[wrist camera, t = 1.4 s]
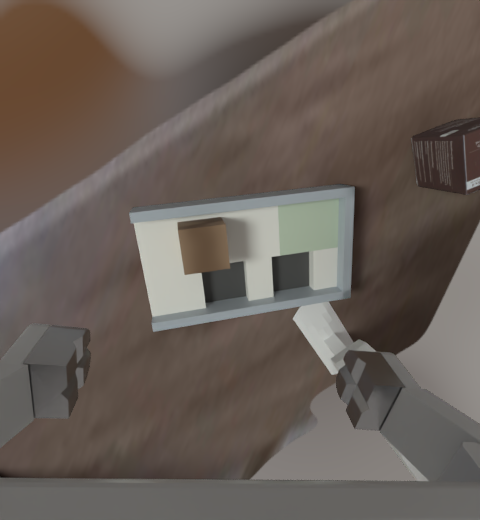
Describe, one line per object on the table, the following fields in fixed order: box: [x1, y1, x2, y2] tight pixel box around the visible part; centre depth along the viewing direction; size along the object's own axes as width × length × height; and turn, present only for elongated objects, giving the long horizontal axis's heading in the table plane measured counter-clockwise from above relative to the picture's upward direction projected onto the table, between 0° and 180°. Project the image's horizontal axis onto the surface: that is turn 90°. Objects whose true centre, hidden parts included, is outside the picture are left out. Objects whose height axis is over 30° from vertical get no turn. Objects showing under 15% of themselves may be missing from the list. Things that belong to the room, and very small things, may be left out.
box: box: [411, 118, 480, 195], centre depth 34 cm, size 6×6×7 cm
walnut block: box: [177, 217, 230, 275], centre depth 32 cm, size 4×4×4 cm
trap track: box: [129, 184, 355, 332], centre depth 36 cm, size 23×13×3 cm, turn 95°
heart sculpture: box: [293, 302, 428, 481], centre depth 35 cm, size 16×5×18 cm, turn 33°
